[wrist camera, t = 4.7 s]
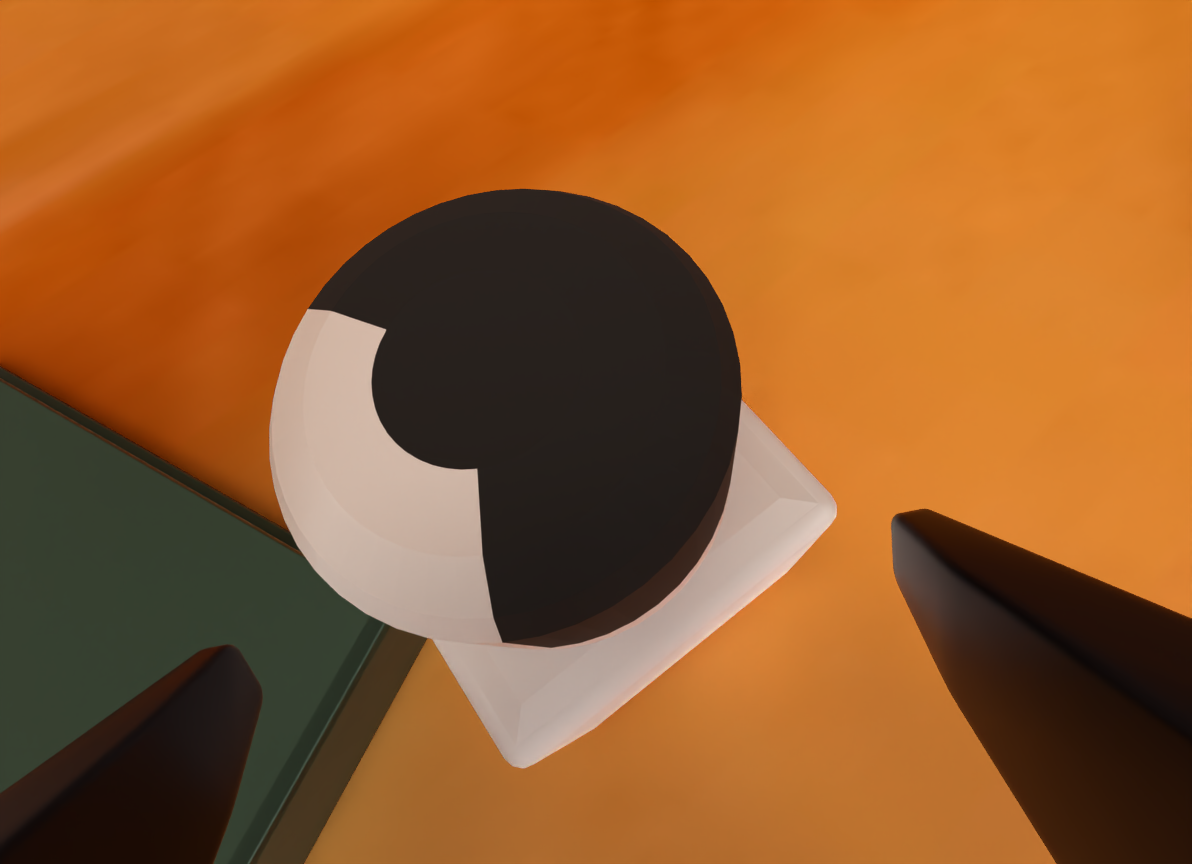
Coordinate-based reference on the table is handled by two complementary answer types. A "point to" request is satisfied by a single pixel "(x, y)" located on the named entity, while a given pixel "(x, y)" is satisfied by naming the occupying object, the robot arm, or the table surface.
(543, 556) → the medicine bottle
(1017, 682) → the robot arm
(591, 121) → the table surface
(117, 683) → the book
